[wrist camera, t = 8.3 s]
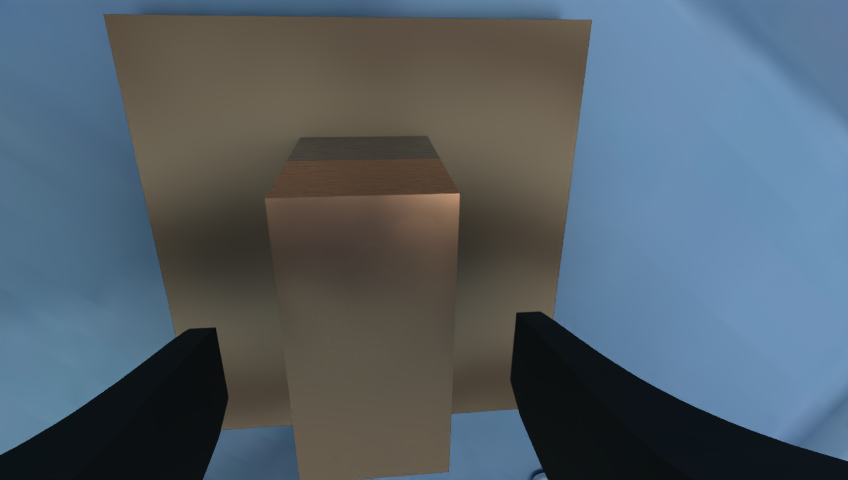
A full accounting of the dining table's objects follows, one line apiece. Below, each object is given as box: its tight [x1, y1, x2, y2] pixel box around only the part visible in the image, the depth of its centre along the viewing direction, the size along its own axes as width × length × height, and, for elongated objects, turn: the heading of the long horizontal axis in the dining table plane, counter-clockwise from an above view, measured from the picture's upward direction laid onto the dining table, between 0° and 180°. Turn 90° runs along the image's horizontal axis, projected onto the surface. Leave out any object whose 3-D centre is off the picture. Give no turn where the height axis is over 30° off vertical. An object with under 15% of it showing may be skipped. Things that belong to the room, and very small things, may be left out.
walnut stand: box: [103, 14, 592, 430], centre depth 18 cm, size 15×14×2 cm
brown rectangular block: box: [265, 136, 460, 480], centre depth 15 cm, size 8×4×6 cm, turn 179°
